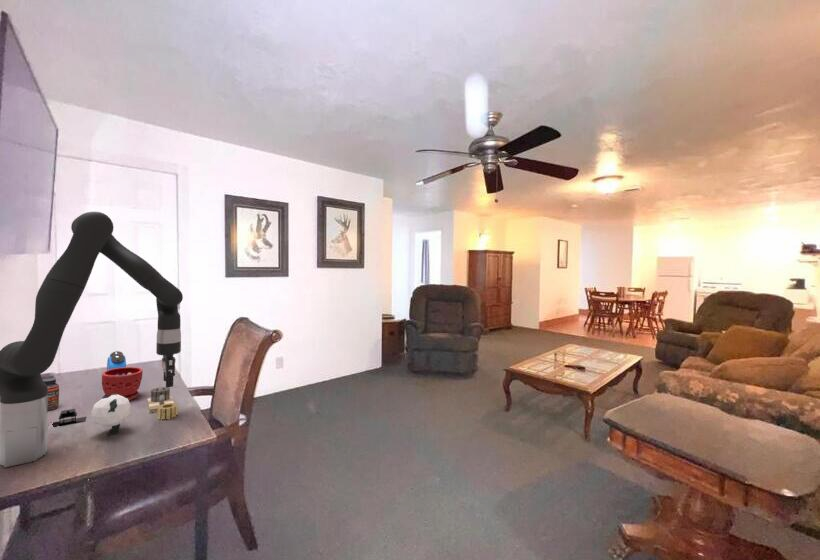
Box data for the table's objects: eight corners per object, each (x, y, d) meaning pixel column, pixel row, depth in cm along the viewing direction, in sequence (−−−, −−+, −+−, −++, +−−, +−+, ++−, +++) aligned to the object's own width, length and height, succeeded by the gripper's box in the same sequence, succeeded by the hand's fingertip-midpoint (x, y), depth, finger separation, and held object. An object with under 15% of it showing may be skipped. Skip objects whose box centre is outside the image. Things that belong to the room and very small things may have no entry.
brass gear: (178, 417, 132) (178, 406, 132) (157, 421, 128) (158, 410, 128) (176, 412, 136) (176, 401, 136) (156, 415, 133) (156, 405, 132)
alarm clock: (106, 382, 166) (107, 350, 166) (123, 380, 170) (124, 349, 170) (108, 390, 157) (109, 356, 156) (126, 387, 161) (127, 354, 161)
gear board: (174, 408, 139) (175, 393, 139) (149, 413, 134) (149, 397, 134) (170, 398, 150) (171, 384, 150) (147, 401, 145) (147, 387, 145)
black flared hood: (41, 432, 118) (41, 418, 118) (43, 424, 123) (44, 411, 123) (91, 422, 126) (91, 410, 126) (91, 416, 131) (92, 403, 131)
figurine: (92, 426, 122) (93, 387, 122) (131, 419, 128) (131, 383, 128) (87, 448, 108) (87, 404, 108) (130, 439, 114) (131, 398, 114)
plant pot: (99, 407, 138) (100, 377, 138) (103, 397, 149) (103, 368, 148) (141, 401, 146) (142, 372, 145) (142, 391, 156) (142, 364, 156)
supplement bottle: (44, 412, 131) (44, 382, 131) (31, 411, 132) (32, 381, 132) (62, 407, 137) (63, 377, 137) (51, 405, 138) (51, 376, 138)
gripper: (183, 343, 128) (182, 387, 129) (178, 336, 139) (177, 377, 140) (158, 345, 124) (157, 391, 124) (154, 338, 135) (154, 380, 135)
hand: (168, 383), depth 132 cm, fingers open, 8 cm apart
